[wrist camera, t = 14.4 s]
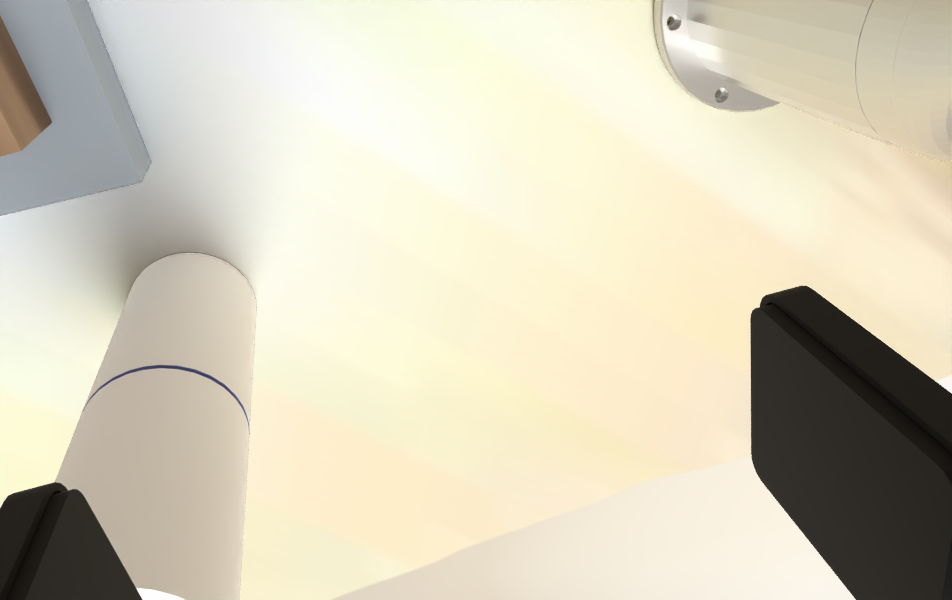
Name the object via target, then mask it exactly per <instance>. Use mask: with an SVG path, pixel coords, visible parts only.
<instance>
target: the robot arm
mask: <svg viewBox="0 0 952 600" xmlns="http://www.w3.org/2000/svg"><path fill="white" fill-rule="evenodd" d="M669 17H670V18H671V21H670V23H669V24H668V25H667V20H668V18H669ZM654 29H655V34H656V39H657V44H658V49H659V52H660V54H661V56H662V59H663V61H664V64H665V66H666V68H667V70H668V71H669V73H670V74H671V76H672V77H673V78H674V80H675V81H676V83H677V84H678V85H679V86H680V87H681V88H683V89H684V90H685V91H686V92H687V93H688V94H689V95H691V96H692V97H694V98H696V99H698V100H699V101H701V102H703V103H705V104H707V105H709V106H712V107H714V108H717V109H721V110H727V111H733V112H749V111H757V110H761V109H765V108H769V107H772V106H775V105H777V104H779V103H782V104H785V105H787V106H790V107H792V108H795V109H798V110H800V111H803V112H805V113H808V114H811V115H813V116H816V117H818V118H821V119H824V120H826V121H829V122H831V123H834V124H837V125H839V126H842V127H844V128H847V129H850V130H852V131H855V132H857V133H860V134H863V135H865V136H868V137H871V138H873V139H876V140H879V141H881V142H884V143H886V144H889V145H892V146H895V147H897V148H900V149H903V150H906V151H909V152H911V153H914V154H917V155H919V156H922V157H926V158H930V159H934V160H938V161H944V162H952V0H655V4H654ZM716 92H717V94H716V95H715V93H716ZM751 454H752V461H753V464H754V468H755V470H756V472H757V474H758V476H759V478H760V479H761V481H762V482H763V483H764V485H765V486H766V487H767V489H768V490H769V491H770V492H771V493H772V495H773V496H774V497H775V499H776V500H777V501H778V502H779V503H780V505H781V506H782V507H783V508H784V510H785V511H786V512H787V513H788V515H789V516H790V517H791V519H792V520H793V521H794V522H795V523H796V525H797V526H798V527H799V529H800V530H801V531H802V532H803V533H804V535H805V536H806V537H807V539H808V540H809V541H810V542H811V544H812V545H813V546H814V547H815V549H816V550H817V551H818V552H819V554H820V555H821V556H822V557H823V559H824V560H825V561H826V562H827V564H828V565H829V566H830V567H831V569H832V570H833V571H834V572H835V574H836V575H837V576H838V577H839V579H840V580H841V581H842V583H843V584H844V585H845V586H846V588H847V589H848V590H849V591H850V593H851V594H852V595H853V596H854V598H855V599H856V600H952V394H951V393H950V392H949V391H947V390H946V389H944V388H943V387H942V386H941V385H939V384H938V383H937V382H935V381H934V380H933V379H931V378H930V377H929V376H927V375H926V374H925V373H923V372H922V371H921V370H919V369H918V368H917V367H915V366H914V365H913V364H911V363H910V362H909V361H907V360H906V359H905V358H903V357H902V356H901V355H899V354H898V353H897V352H895V351H894V350H893V349H891V348H890V347H889V346H887V345H886V344H885V343H883V342H882V341H881V340H879V339H878V338H877V337H875V336H874V335H873V334H871V333H870V332H869V331H867V330H866V329H865V328H863V327H862V326H861V325H859V324H858V323H857V322H855V321H854V320H853V319H851V318H850V317H849V316H847V315H846V314H845V313H843V312H842V311H841V310H839V309H838V308H837V307H835V306H834V305H833V304H831V303H830V302H829V301H827V300H826V299H825V298H823V297H822V296H821V295H819V294H818V293H817V292H815V291H814V290H813V289H811V288H809V287H807V286H799V287H795V288H791V289H788V290H784V291H780V292H776V293H772V294H769V295H766V296H764V297H763V298H762V301H761V303H760V307H759V308H756V309H754V310H753V311H752V314H751ZM0 600H143V599H142V598H141V596H140V594H139V592H138V590H137V589H136V587H135V585H134V583H133V582H132V580H131V578H130V576H129V574H128V573H127V571H126V569H125V567H124V566H123V564H122V562H121V560H120V559H119V557H118V555H117V553H116V551H115V550H114V548H113V546H112V544H111V543H110V541H109V539H108V537H107V536H106V534H105V532H104V530H103V528H102V527H101V525H100V523H99V521H98V520H97V518H96V516H95V514H94V513H93V511H92V509H91V507H90V505H89V504H88V502H87V500H86V498H85V497H84V495H83V494H82V493H81V492H80V491H79V490H78V489H72V490H68V489H67V488H66V487H65V486H64V485H62V484H61V483H57V482H55V483H51V484H47V485H43V486H39V487H36V488H32V489H28V490H24V491H20V492H17V493H13V494H11V495H9V496H8V497H7V498H6V500H5V501H4V502H3V504H2V506H1V508H0Z"/></svg>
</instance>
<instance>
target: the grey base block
mask: <svg viewBox="0 0 952 600" xmlns="http://www.w3.org/2000/svg"><path fill="white" fill-rule="evenodd" d="M0 16H1V18H2V20H3V22H4V24H5V26H6V28H7V30H8V33H9V35H10V37H11V39H12V41H13V43H14V45H15V47H16V49H17V51H18V53H19V55H20V57H21V59H22V61H23V63H24V65H25V67H26V69H27V71H28V73H29V76H30V78H31V80H32V82H33V84H34V86H35V88H36V90H37V92H38V94H39V96H40V98H41V100H42V102H43V104H44V106H45V108H46V110H47V112H48V114H49V116H50V119H51V121H52V123H51V124H50V125H49V126H48V127H47V128H46V129H45V130H44V131H43V132H41V133H40V134H39V135H38V136H37V137H36V138H35V139H34V140H33V141H32V142H31V143H30V144H28V145H27V146H26V147H25V148H24V149H23V150H22V151H20V152H16V153H12V154H8V155H5V156H1V157H0V216H2V215H6V214H10V213H15V212H19V211H23V210H27V209H31V208H35V207H40V206H44V205H48V204H52V203H56V202H61V201H65V200H69V199H73V198H77V197H82V196H86V195H90V194H94V193H98V192H102V191H107V190H111V189H115V188H119V187H123V186H128V185H132V184H136V183H140V182H142V180H143V178H144V176H145V174H146V172H147V170H148V168H149V166H150V164H151V160H150V157H149V155H148V152H147V150H146V147H145V145H144V142H143V140H142V137H141V135H140V132H139V130H138V127H137V125H136V122H135V119H134V117H133V114H132V112H131V109H130V107H129V104H128V102H127V99H126V97H125V94H124V92H123V89H122V87H121V84H120V82H119V79H118V77H117V74H116V72H115V69H114V67H113V64H112V62H111V59H110V57H109V54H108V52H107V49H106V47H105V44H104V42H103V39H102V37H101V34H100V32H99V29H98V27H97V24H96V22H95V19H94V17H93V14H92V12H91V9H90V7H89V4H88V2H87V0H0Z"/></svg>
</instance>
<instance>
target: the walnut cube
mask: <svg viewBox="0 0 952 600" xmlns="http://www.w3.org/2000/svg"><path fill="white" fill-rule="evenodd" d="M51 123H52V121H51V119H50V116H49V114H48V112H47V110H46V108H45V106H44V104H43V102H42V100H41V98H40V96H39V94H38V92H37V90H36V88H35V86H34V84H33V82H32V80H31V78H30V76H29V73H28V71H27V69H26V67H25V65H24V63H23V61H22V59H21V57H20V55H19V53H18V51H17V49H16V47H15V45H14V43H13V41H12V39H11V37H10V35H9V33H8V30H7V28H6V26H5V24H4V22H3V20H2V18H1V16H0V157H1V156H5V155H8V154H12V153H16V152H20V151H22V150H23V149H24V148H25V147H26V146H27V145H28V144H30V143H31V142H32V141H33V140H34V139H35V138H36V137H37V136H38V135H39V134H40V133H41V132H43V131H44V130H45V129H46V128H47V127H48V126H49V125H50V124H51Z"/></svg>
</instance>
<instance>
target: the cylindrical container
mask: <svg viewBox="0 0 952 600" xmlns="http://www.w3.org/2000/svg"><path fill="white" fill-rule="evenodd" d="M256 311H257V306H256V299H255V295H254V293H253V290H252V288H251V286H250V284H249V283H248V281H247V279H246V278H245V277H244V276H243V275H242V274H241V273H240V272H239V271H238V270H237V269H236V268H234V267H233V266H232V265H230V264H229V263H227V262H225V261H223V260H221V259H219V258H217V257H214V256H210V255H206V254H202V253H191V252H189V253H177V254H173V255H169V256H166V257H164V258H161V259H159V260H157V261H155V262H153V263H152V264H151V265H149V266H148V267H146V268H145V269H144V270H143V271H142V272H141V273H140V275H139V276H138V277H137V278H136V280H135V282H134V284H133V286H132V287H131V290H130V293H129V295H128V298H127V300H126V303H125V305H124V308H123V311H122V313H121V316H120V318H119V321H118V323H117V326H116V329H115V331H114V334H113V336H112V339H111V341H110V344H109V346H108V349H107V351H106V354H105V356H104V359H103V361H102V364H101V366H100V369H99V371H98V374H97V376H96V379H95V381H94V384H93V386H92V389H91V391H90V394H89V396H88V399H87V401H86V404H85V406H84V409H83V411H82V414H81V416H80V419H79V421H78V424H77V427H76V429H75V432H74V434H73V437H72V439H71V442H70V445H69V447H68V450H67V452H66V455H65V457H64V460H63V462H62V465H61V468H60V470H59V473H58V475H57V478H56V480H55V482H57V483H61V484H62V485H64V486H65V487H66V488H67V489H68V490H72V489H78V490H79V491H80V492H81V493H82V494H83V495H84V497H85V498H86V500H87V502H88V504H89V505H90V507H91V509H92V511H93V513H94V514H95V516H96V518H97V520H98V521H99V523H100V525H101V527H102V528H103V530H104V532H105V534H106V536H107V537H108V539H109V541H110V543H111V544H112V546H113V548H114V550H115V551H116V553H117V555H118V557H119V559H120V560H121V562H122V564H123V566H124V567H125V569H126V571H127V573H128V574H129V576H130V578H131V580H132V582H133V583H134V585H135V587H136V589H137V590H138V592H139V594H140V596H141V598H142V599H143V600H240V585H241V568H242V551H243V535H244V518H245V501H246V484H247V468H248V451H249V434H250V414H251V397H252V380H253V363H254V346H255V328H256Z"/></svg>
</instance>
